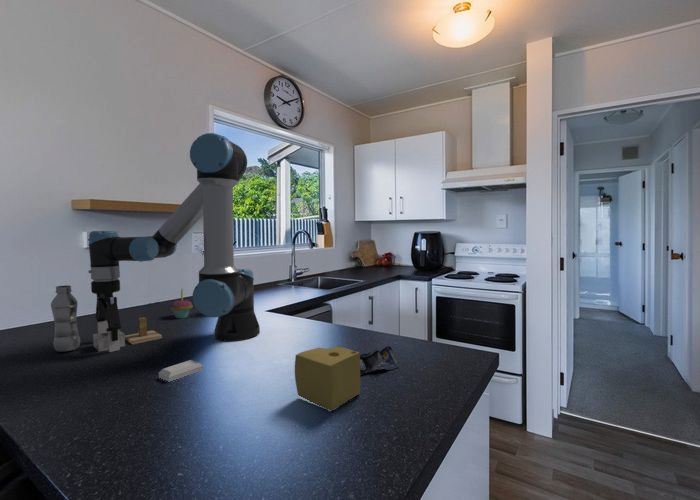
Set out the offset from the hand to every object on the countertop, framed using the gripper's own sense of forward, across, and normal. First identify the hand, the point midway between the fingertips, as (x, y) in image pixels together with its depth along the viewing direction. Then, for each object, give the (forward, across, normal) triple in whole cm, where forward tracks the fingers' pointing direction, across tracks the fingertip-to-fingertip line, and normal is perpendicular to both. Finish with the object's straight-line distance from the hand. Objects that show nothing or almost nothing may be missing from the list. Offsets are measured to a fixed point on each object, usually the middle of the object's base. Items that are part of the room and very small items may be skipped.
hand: (108, 345), depth 114 cm
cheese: (0, +77, +24) cm, 81 cm away
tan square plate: (0, -1, +10) cm, 10 cm away
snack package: (0, +74, +43) cm, 86 cm away
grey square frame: (0, 0, 0) cm, 0 cm away
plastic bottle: (0, -5, -10) cm, 11 cm away
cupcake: (0, -22, +31) cm, 38 cm away
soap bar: (0, +40, +7) cm, 41 cm away
